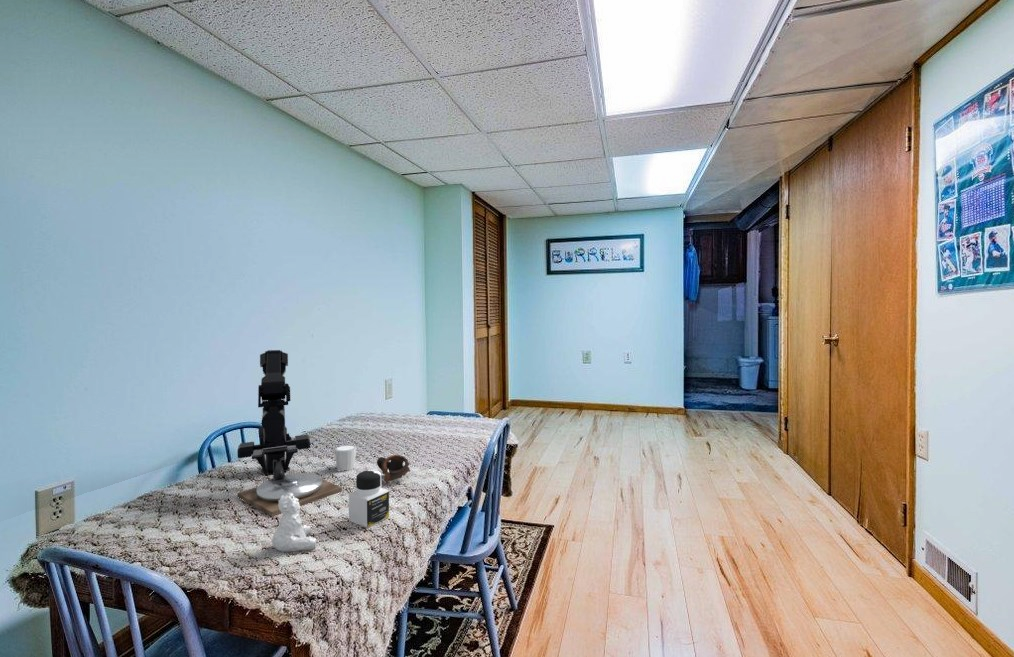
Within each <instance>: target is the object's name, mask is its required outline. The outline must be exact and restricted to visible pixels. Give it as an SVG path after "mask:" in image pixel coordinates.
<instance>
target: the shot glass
mask: <svg viewBox="0 0 1014 657" xmlns="http://www.w3.org/2000/svg"><path fill="white" fill-rule="evenodd" d="M356 453H357V446H356V445H352V444H347V445H340V446H337V447H335V448H334V454H335V463H336V470H337V471H338V470H340V471H339V472H345V471H344V470H349V471H352V470H354V469H355V468H356V467H355V465H356V455H357V454H356ZM354 467H355V468H354ZM353 468H354V469H353ZM351 469H352V470H351Z"/></svg>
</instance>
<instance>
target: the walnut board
mask: <svg viewBox="0 0 1014 657" xmlns="http://www.w3.org/2000/svg"><path fill="white" fill-rule="evenodd" d="M257 487H258V486H256V487H252V488H249V489H246V490H244V491H243V490H242V491H239V492H237V495H236V498H238V497H239V498H238V499H240V498H241V499H243V500H244V502H245V501H246V502H245V503H247V504H249V505H250V504H251V506H252V507H254V508H256V509H257V510H259V511H261V512H263V513H265V514H267V515H268V516H270V517H272V518H273V517H276V516H279V515H281V514H283V513H282V512H281V511H280V509H279V507H278V504H279V502H269V501H263V500H261V499H259V498H258V497H257V493H256V489H257ZM341 492H343V487H342V486H340V485H337V484H334V483H332V482H330V481H327V480H325V479H323V478H322V487H321V489H320V490H318V491H317V492H315V493H313V494H311V495H309V496H306V497H303V498H300V499H299V501H298V502H299V504H300V506H301V507H303V506H306V505H308V503H309V504H311V503H313V501H314V502H316V500H317V501H319V499H320V500H322V499H325V498H327V496H328V497H330V496H333V495H336V494H338V493H341ZM324 497H325V498H324ZM241 499H240V500H241ZM243 500H242V501H243ZM305 504H306V505H305ZM302 505H303V506H302Z"/></svg>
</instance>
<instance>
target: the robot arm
mask: <svg viewBox="0 0 1014 657" xmlns="http://www.w3.org/2000/svg"><path fill="white" fill-rule="evenodd" d="M288 366H289V353H287V352H284V351H283V350H281V349H276V350H275V349H274V350H272V349H271V350H270V349H269V350H266V351H264V353H261V354H259V367H260V368H262V373H263V375H264V376H263V377H261V379H260V380H261V383H260V384H258V390H257V391H258V393H257V396H258V398H257V402H258V403H257V405H258V407H257V408H262V415H261V422H260V423H261V426H260V427H258V438H259V440H260V442H259V443H260V444H255V441H247V442H240V443H239V445H238V447H237V459H245V458H251V459H252V460H256V462H257V463H258V464H259V465H260V467H261V469H260V470H261V472H263V473H264V476H265V477H267V476H268V475H273V460H275V459H279V458H283V459H285V474H287V471H289V470H290V468H291V467H290V466H289V465H290V463H291V460H292V458H293V456H294V454H297V453H298V452H299V451H301V450H308V449H310V448H311V437H310V436H309V435H308V434H302V435H301V434H300V435H295V436H294V439H292V437H291V436H290V433H289V432H288V429H287V427H286V414H285V411H286V410H285V408H286V407H285V406H289V402H291V386H290V385H289V383H287V382H286V376H284V375H285V374H286V369H287V368H286V367H288Z"/></svg>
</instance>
